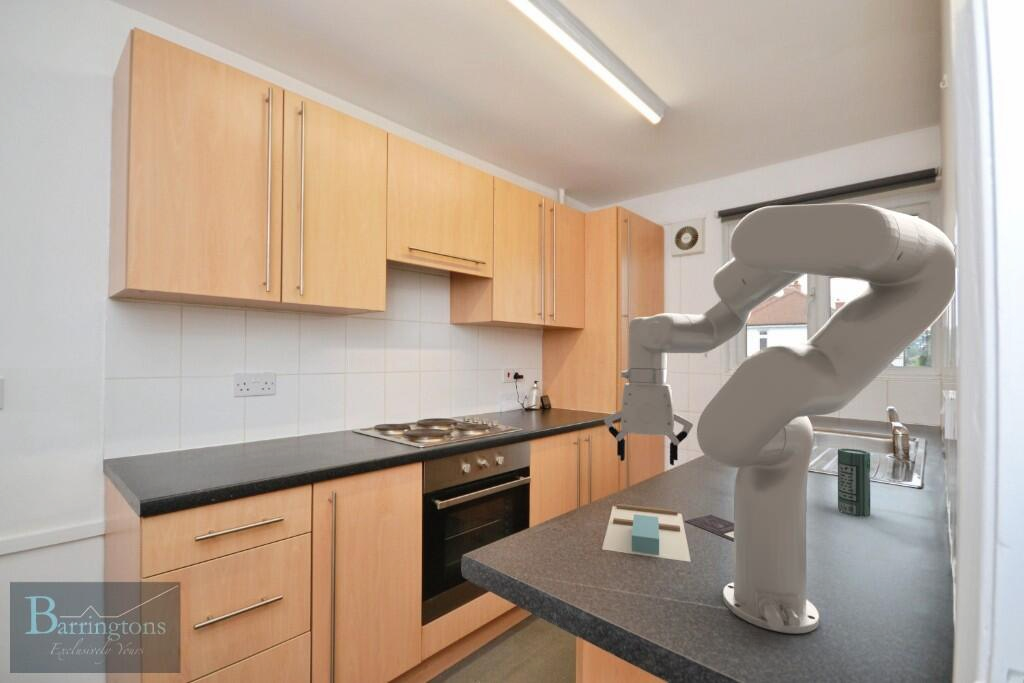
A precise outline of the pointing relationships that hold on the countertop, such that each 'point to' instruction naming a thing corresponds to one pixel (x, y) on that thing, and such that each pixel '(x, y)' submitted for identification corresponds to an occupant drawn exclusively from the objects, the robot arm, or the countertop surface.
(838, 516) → the countertop surface
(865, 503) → the can
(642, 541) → the teal bar on plank
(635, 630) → the countertop surface
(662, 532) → the cream base board
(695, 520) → the chocolate bar
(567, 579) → the countertop surface
